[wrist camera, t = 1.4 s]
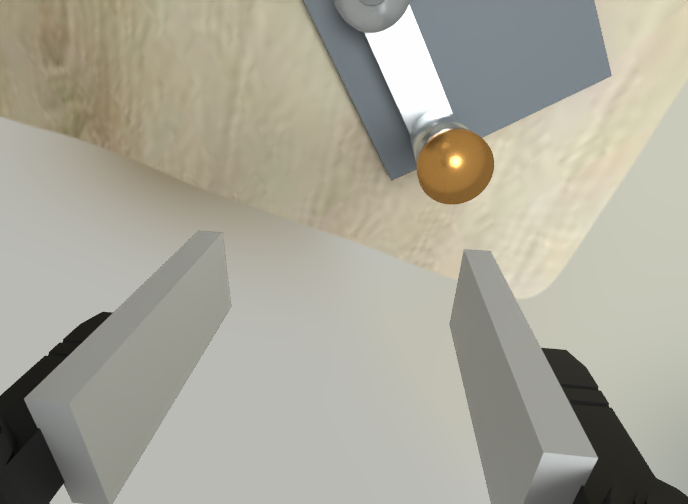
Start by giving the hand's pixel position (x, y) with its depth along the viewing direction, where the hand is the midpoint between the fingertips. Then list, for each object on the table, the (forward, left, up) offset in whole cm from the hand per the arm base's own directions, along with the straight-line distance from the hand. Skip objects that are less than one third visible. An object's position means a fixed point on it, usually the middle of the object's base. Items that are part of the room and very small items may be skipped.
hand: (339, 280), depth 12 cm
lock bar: (-4, +5, -18) cm, 19 cm away
